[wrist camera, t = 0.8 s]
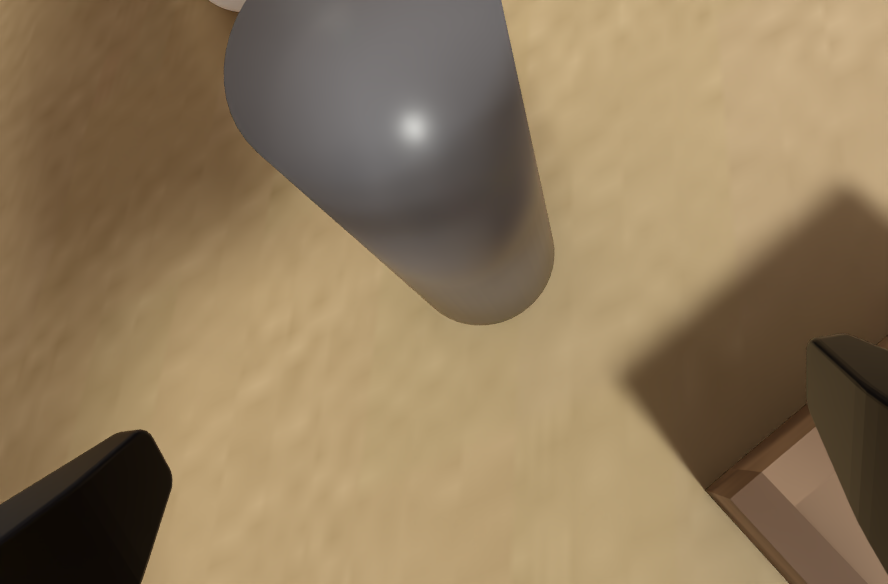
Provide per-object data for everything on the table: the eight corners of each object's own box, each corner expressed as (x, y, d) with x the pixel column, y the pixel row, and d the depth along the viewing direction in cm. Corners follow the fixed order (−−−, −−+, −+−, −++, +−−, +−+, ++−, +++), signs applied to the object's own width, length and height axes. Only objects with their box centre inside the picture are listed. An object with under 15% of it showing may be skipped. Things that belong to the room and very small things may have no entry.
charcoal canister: (472, 355, 22) (327, 242, 10) (386, 251, 24) (175, 52, 12) (585, 258, 22) (568, 33, 10) (490, 161, 24) (382, -130, 12)
